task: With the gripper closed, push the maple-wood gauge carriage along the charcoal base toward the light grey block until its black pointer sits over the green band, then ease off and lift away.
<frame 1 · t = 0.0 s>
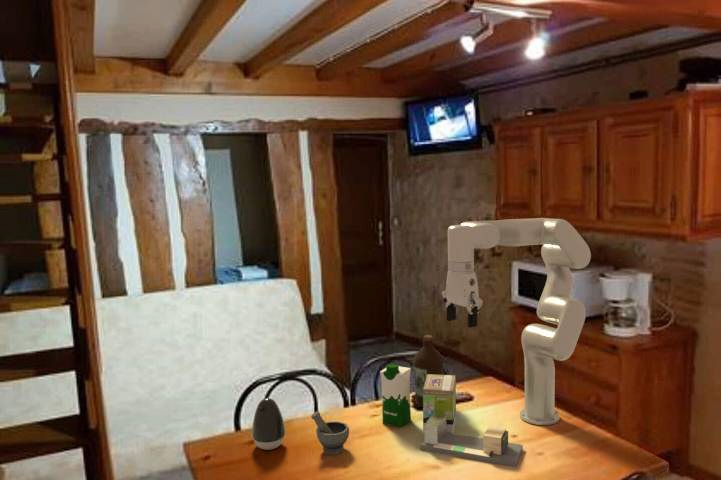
hand: (461, 323, 176), 37 cm above the table, tool pointing down, fingers open, 9 cm apart
tea box: (440, 425, 194), on the table
light grey block: (435, 438, 181), resting on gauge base
aroma diffuser: (269, 446, 183), on the table
milk carton: (397, 422, 197), on the table
olive oil: (428, 404, 211), on the table
gauge carriage: (495, 442, 171), point 4 cm above the table, slide at 0.0 cm
mortar and pestle: (331, 450, 179), on the table
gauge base: (471, 449, 176), on the table
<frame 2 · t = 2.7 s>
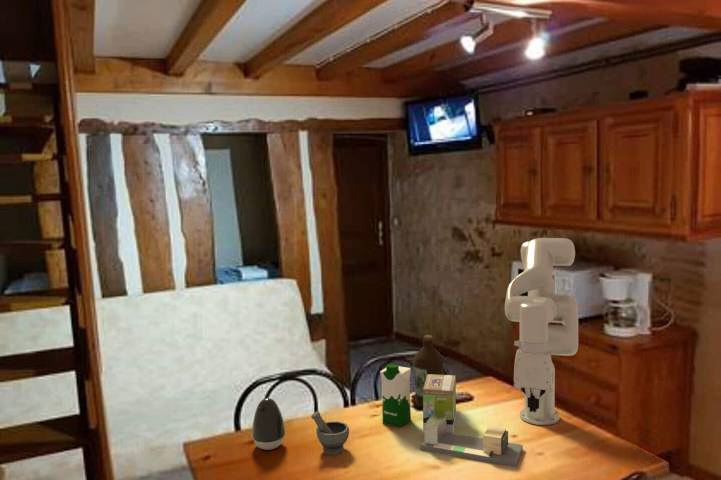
hand: (533, 410, 166), 15 cm above the table, tool pointing down, fingers closed
nothing on the table moved.
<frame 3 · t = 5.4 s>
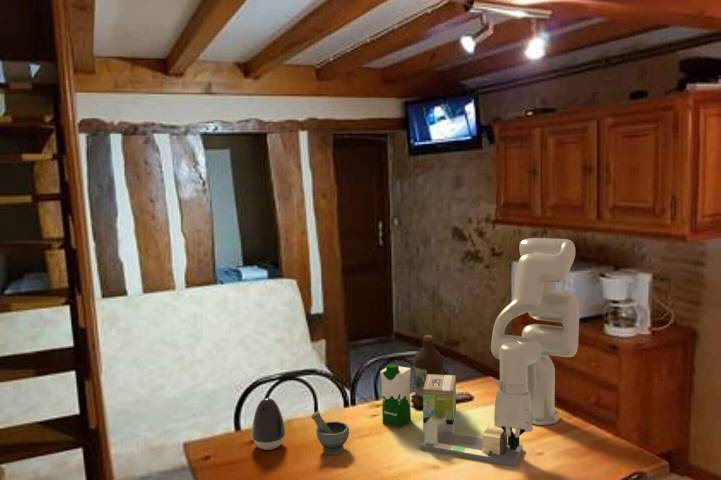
hand: (513, 448, 170), 3 cm above the table, tool pointing down, fingers closed
gauge carriage: (494, 441, 171), point 4 cm above the table, slide at 0.3 cm, touching gripper
everything else where it was.
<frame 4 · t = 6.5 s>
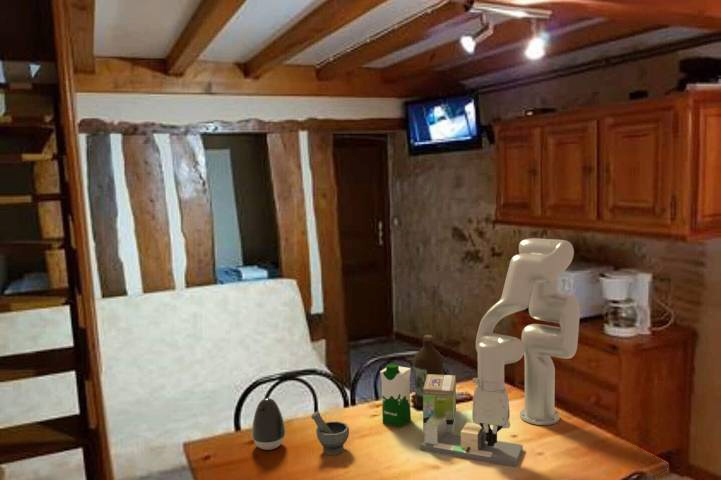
hand: (491, 444, 173), 3 cm above the table, tool pointing down, fingers closed
gauge carriage: (472, 438, 174), point 4 cm above the table, slide at 6.7 cm, touching gripper
everything else where it was.
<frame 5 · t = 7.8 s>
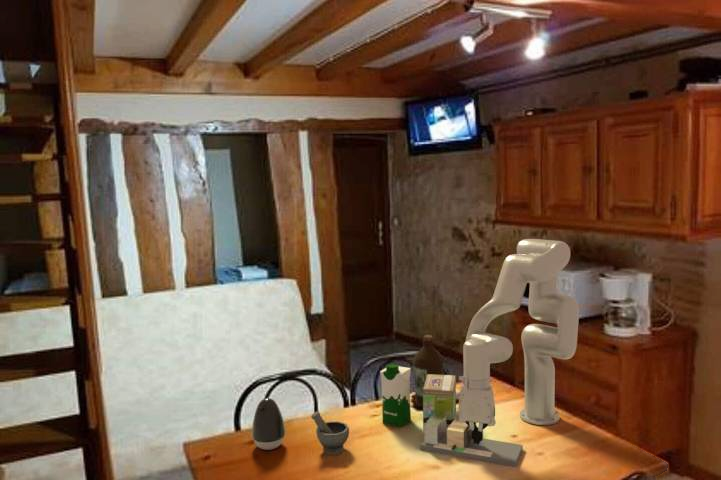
hand: (477, 442, 175), 3 cm above the table, tool pointing down, fingers closed
gauge carriage: (458, 436, 176), point 4 cm above the table, slide at 10.9 cm, touching gripper
everything else where it was.
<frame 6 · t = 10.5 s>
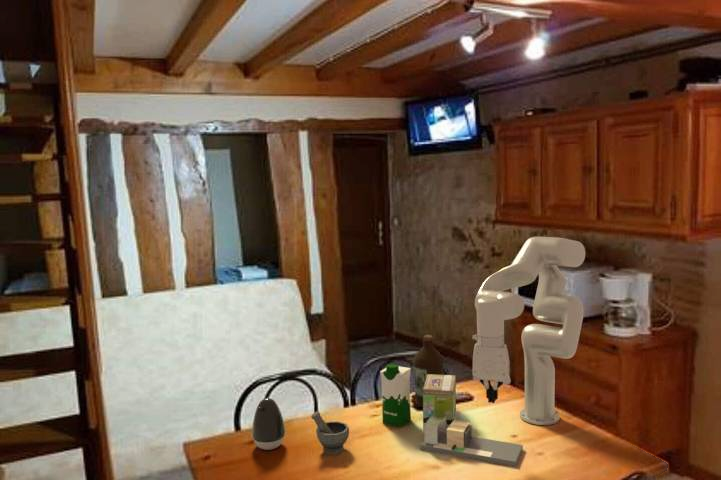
hand: (492, 400, 172), 16 cm above the table, tool pointing down, fingers closed
gauge carriage: (458, 436, 176), point 4 cm above the table, slide at 10.9 cm
everything else where it was.
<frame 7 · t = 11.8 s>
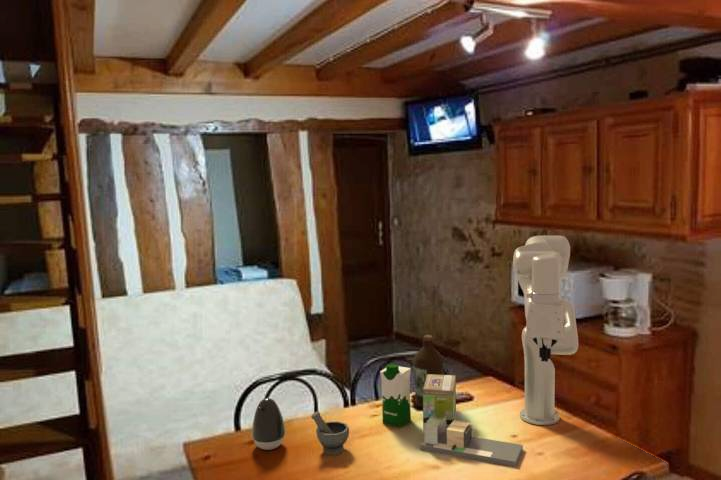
hand: (545, 360, 172), 27 cm above the table, tool pointing down, fingers closed
nothing on the table moved.
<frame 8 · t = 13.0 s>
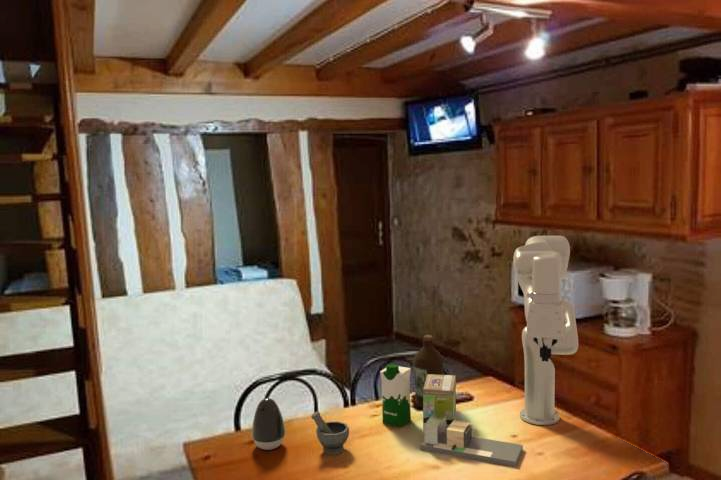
hand: (545, 360, 172), 27 cm above the table, tool pointing down, fingers closed
nothing on the table moved.
at the end: gauge carriage slide at 10.9 cm; tea box moved 0.3 cm from its start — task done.
